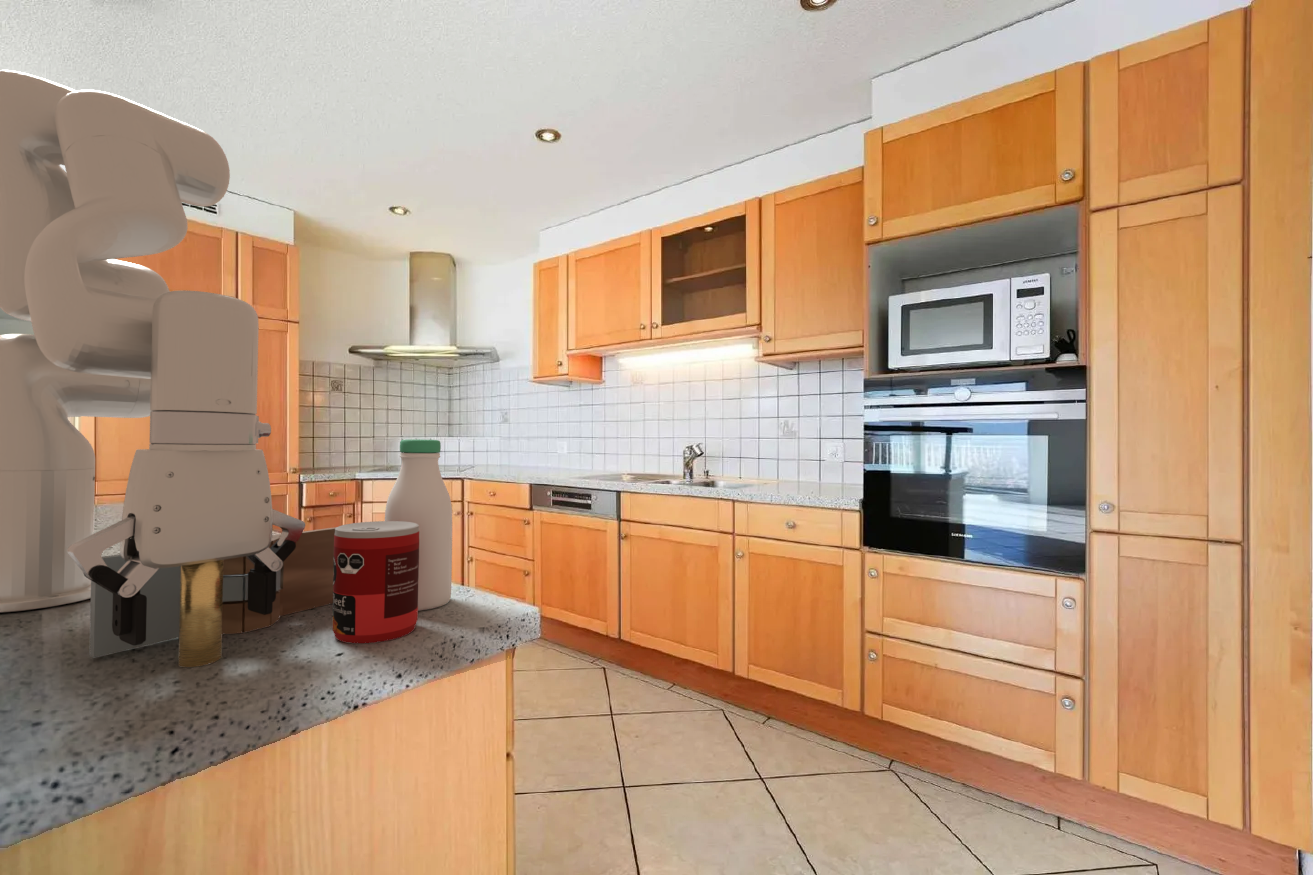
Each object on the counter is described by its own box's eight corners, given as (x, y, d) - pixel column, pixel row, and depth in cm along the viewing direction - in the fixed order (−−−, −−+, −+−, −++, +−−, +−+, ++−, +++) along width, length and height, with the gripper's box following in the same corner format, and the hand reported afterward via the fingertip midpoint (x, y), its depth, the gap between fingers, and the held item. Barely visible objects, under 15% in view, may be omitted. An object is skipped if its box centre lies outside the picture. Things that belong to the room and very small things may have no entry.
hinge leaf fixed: (191, 627, 60) (193, 540, 60) (338, 593, 74) (339, 523, 74) (222, 638, 57) (224, 547, 57) (369, 601, 71) (370, 527, 71)
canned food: (335, 625, 62) (337, 522, 62) (415, 617, 65) (417, 519, 65) (328, 649, 55) (330, 533, 55) (419, 638, 58) (421, 529, 58)
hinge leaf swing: (77, 649, 53) (80, 554, 53) (258, 609, 66) (259, 532, 66) (106, 664, 50) (108, 562, 50) (289, 618, 63) (291, 538, 63)
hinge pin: (172, 662, 51) (174, 543, 51) (211, 652, 54) (213, 538, 54) (188, 669, 49) (190, 547, 50) (228, 658, 52) (230, 542, 52)
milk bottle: (462, 604, 70) (465, 440, 70) (396, 617, 65) (400, 439, 65) (435, 592, 76) (438, 439, 76) (372, 602, 70) (376, 438, 70)
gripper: (283, 435, 61) (280, 597, 61) (54, 431, 46) (49, 647, 46) (325, 436, 57) (322, 608, 57) (92, 432, 42) (86, 666, 42)
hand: (201, 625), depth 52 cm, fingers open, 9 cm apart
